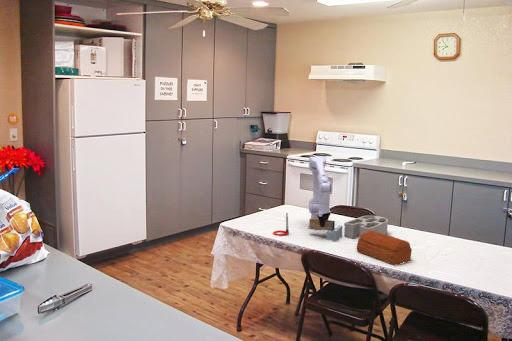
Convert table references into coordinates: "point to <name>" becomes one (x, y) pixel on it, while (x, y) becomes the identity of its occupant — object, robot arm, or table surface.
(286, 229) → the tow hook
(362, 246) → the bread
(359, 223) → the grey hollow block
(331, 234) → the grey block
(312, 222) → the brown wooden block
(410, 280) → the table surface
